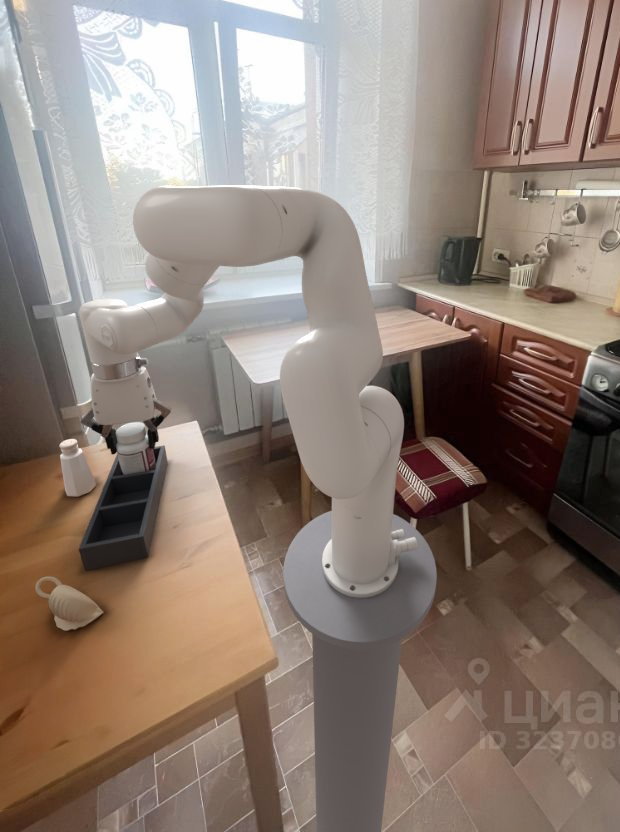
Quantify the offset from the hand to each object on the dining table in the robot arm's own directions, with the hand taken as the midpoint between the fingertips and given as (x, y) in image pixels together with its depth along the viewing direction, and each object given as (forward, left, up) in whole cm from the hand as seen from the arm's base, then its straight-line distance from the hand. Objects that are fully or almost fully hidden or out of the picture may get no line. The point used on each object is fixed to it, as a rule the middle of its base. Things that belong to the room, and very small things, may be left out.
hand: (134, 446), depth 79 cm
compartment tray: (0, +8, -8) cm, 12 cm away
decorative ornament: (+4, +28, -8) cm, 30 cm away
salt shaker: (+11, -1, -8) cm, 14 cm away
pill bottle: (0, 0, -7) cm, 7 cm away
